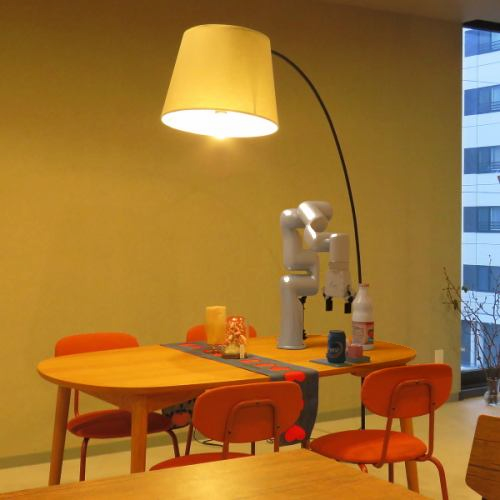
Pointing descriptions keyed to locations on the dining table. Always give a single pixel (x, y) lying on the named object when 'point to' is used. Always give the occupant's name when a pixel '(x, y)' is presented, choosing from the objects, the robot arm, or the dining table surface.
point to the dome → (347, 345)
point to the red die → (355, 350)
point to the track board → (325, 362)
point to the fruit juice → (363, 319)
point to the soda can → (336, 347)
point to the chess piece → (303, 300)
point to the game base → (356, 359)
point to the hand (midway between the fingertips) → (338, 312)
